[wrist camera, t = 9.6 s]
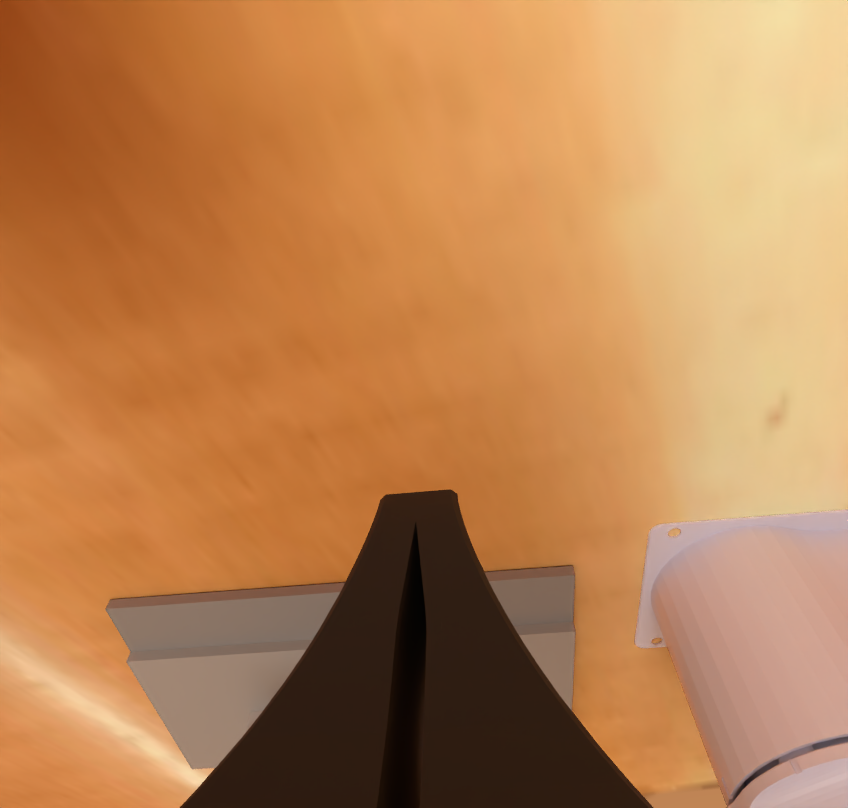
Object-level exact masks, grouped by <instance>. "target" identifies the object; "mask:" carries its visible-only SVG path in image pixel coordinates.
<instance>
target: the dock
mask: <svg viewBox="0 0 848 808" xmlns="http://www.w3.org/2000/svg"><path fill="white" fill-rule="evenodd" d="M485 575H486V577H487V579H488V581H489V583H490V585H491V587H492V589H493V591H494V592H495V594H496V596H497V598H498V600H499V602H500V604H501V605H502V607H503V609H504V611H505V612H506V614H507V616H508V618H509V619H510V621H511V623H512V625H513V626H514V628H515V630H516V631H517V633H518V634H519V636H520V638H521V639H522V641H523V643H524V644H525V646H526V647H527V649H528V650H529V652H530V653H531V655H532V656H533V658H534V659H535V661H536V662H537V664H538V665H539V667H540V668H541V670H542V671H543V673H544V674H545V675H546V677H547V678H548V680H549V681H550V682H551V684H552V685H553V687H554V688H555V690H556V691H557V692H558V694H559V695H560V696H561V698H562V699H563V700H564V702H565V703H566V704H567V705H568V707H569V708H570V709H571V711H572V696H573V674H574V653H575V627H574V623H573V613H574V589H575V573H574V569H573V566H562V567H548V568H535V569H521V570H507V571H494V572H485ZM344 584H345V582H344V583H330V584H317V585H303V586H290V587H276V588H262V589H249V590H235V591H222V592H208V593H194V594H181V595H167V596H153V597H140V598H126V599H113V600H110V601H109V603H108V605H107V607H106V611H107V613H108V614H109V616H110V618H111V619H112V621H113V623H114V625H115V626H116V628H117V630H118V631H119V633H120V635H121V636H122V638H123V640H124V641H125V643H126V645H127V646H128V648H129V650H130V651H131V653H130V655H129V657H128V659H127V663H128V665H129V667H130V668H131V670H132V672H133V673H134V675H135V677H136V678H137V680H138V682H139V683H140V685H141V686H142V688H143V690H144V691H145V693H146V695H147V696H148V698H149V700H150V701H151V703H152V704H153V706H154V708H155V709H156V711H157V713H158V714H159V716H160V718H161V719H162V721H163V722H164V724H165V726H166V727H167V729H168V731H169V732H170V734H171V736H172V737H173V739H174V740H175V742H176V744H177V745H178V747H179V749H180V750H181V752H182V754H183V755H184V757H185V758H186V760H187V762H188V763H189V765H190V767H191V768H192V769H203V768H216V767H217V766H218V764H219V763H220V762H221V761H222V760H223V759H224V758H225V756H226V755H227V754H228V753H229V752H230V751H231V749H232V748H233V747H234V746H235V745H236V744H237V742H238V741H239V740H240V739H241V738H242V737H243V735H244V734H245V733H246V732H247V730H248V729H249V728H250V727H251V726H252V724H253V723H254V722H255V720H256V719H257V718H258V717H259V715H260V714H261V713H262V711H263V710H264V709H265V707H266V706H267V705H268V703H269V702H270V701H271V699H272V698H273V697H274V695H275V694H276V693H277V691H278V690H279V689H280V687H281V686H282V685H283V683H284V682H285V680H286V679H287V678H288V676H289V675H290V673H291V672H292V670H293V669H294V667H295V666H296V664H297V663H298V661H299V660H300V659H301V657H302V656H303V654H304V653H305V651H306V649H307V648H308V646H309V645H310V643H311V642H312V640H313V638H314V637H315V635H316V634H317V632H318V630H319V629H320V627H321V625H322V624H323V622H324V620H325V618H326V617H327V615H328V613H329V611H330V609H331V608H332V606H333V604H334V602H335V601H336V599H337V597H338V595H339V594H340V592H341V590H342V588H343V586H344Z"/></svg>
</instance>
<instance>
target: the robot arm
mask: <svg viewBox="0 0 848 808" xmlns="http://www.w3.org/2000/svg"><path fill="white" fill-rule="evenodd" d="M674 528H677V529H680V533H679V534H678V535H677V536H669V535H668V532H669V531H670V530H671V529H674ZM655 638H661V639H662V641H661V642H659V643H656V644H654V643H651V641H652V640H653V639H655ZM634 642H635V645H636V646H637V647H640V648H656V647H667V648H668V651H669V653H670V656H671V659H672V661H673V664H674V667H675V669H676V672H677V675H678V677H679V680H680V683H681V685H682V688H683V691H684V693H685V696H686V699H687V701H688V704H689V706H690V709H691V712H692V714H693V717H694V720H695V722H696V725H697V728H698V730H699V733H700V736H701V738H702V741H703V744H704V746H705V749H706V752H707V754H708V757H709V760H710V762H711V765H712V768H713V770H714V773H715V776H716V778H717V781H718V784H719V786H720V789H721V792H722V794H723V797H724V800H725V802H726V805H727V808H848V509H847V510H834V511H821V512H808V513H795V514H782V515H769V516H756V517H743V518H730V519H717V520H704V521H690V522H677V523H664V524H658V525H656V526H654V527H653V528H652V529H651V530H650V531H649V534H648V541H647V549H646V556H645V564H644V572H643V579H642V587H641V595H640V602H639V610H638V618H637V625H636V633H635V640H634ZM180 808H653V807H652V806H651V805H650V804H649V802H648V801H647V800H646V799H645V798H644V797H643V796H642V795H641V793H640V792H639V791H638V790H637V789H636V788H635V787H634V786H633V785H632V783H631V782H630V781H629V780H628V779H627V778H626V777H625V776H624V774H623V773H622V772H621V771H620V770H619V769H618V767H617V766H616V765H615V764H614V763H613V761H612V760H611V759H610V758H609V757H608V756H607V754H606V753H605V752H604V751H603V750H602V749H601V747H600V746H599V745H598V744H597V743H596V741H595V740H594V739H593V737H592V736H591V735H590V734H589V732H588V731H587V730H586V728H585V727H584V726H583V725H582V723H581V722H580V721H579V719H578V718H577V717H576V716H575V714H574V713H573V712H572V711H571V709H570V708H569V707H568V705H567V704H566V703H565V702H564V700H563V699H562V698H561V696H560V695H559V694H558V692H557V691H556V690H555V688H554V687H553V685H552V684H551V682H550V681H549V680H548V678H547V677H546V675H545V674H544V673H543V671H542V670H541V668H540V667H539V665H538V664H537V662H536V661H535V659H534V658H533V656H532V655H531V653H530V652H529V650H528V649H527V647H526V646H525V644H524V643H523V641H522V639H521V638H520V636H519V634H518V633H517V631H516V630H515V628H514V626H513V625H512V623H511V621H510V619H509V618H508V616H507V614H506V612H505V611H504V609H503V607H502V605H501V604H500V602H499V600H498V598H497V596H496V594H495V592H494V591H493V589H492V587H491V585H490V583H489V581H488V579H487V577H486V575H485V572H484V570H483V568H482V566H481V564H480V562H479V560H478V558H477V556H476V553H475V551H474V549H473V546H472V544H471V541H470V539H469V536H468V533H467V531H466V528H465V525H464V522H463V519H462V515H461V512H460V507H459V503H458V496H457V493H455V492H454V491H452V490H439V491H426V492H414V493H402V494H389V495H385V496H384V497H383V498H382V499H381V500H380V504H379V507H378V510H377V513H376V515H375V518H374V521H373V523H372V526H371V528H370V531H369V533H368V536H367V538H366V540H365V543H364V545H363V547H362V549H361V552H360V554H359V556H358V558H357V560H356V562H355V564H354V566H353V568H352V570H351V572H350V574H349V576H348V578H347V580H346V582H345V584H344V586H343V588H342V590H341V592H340V594H339V595H338V597H337V599H336V601H335V602H334V604H333V606H332V608H331V609H330V611H329V613H328V615H327V617H326V618H325V620H324V622H323V624H322V625H321V627H320V629H319V630H318V632H317V634H316V635H315V637H314V638H313V640H312V642H311V643H310V645H309V646H308V648H307V649H306V651H305V653H304V654H303V656H302V657H301V659H300V660H299V661H298V663H297V664H296V666H295V667H294V669H293V670H292V672H291V673H290V675H289V676H288V678H287V679H286V680H285V682H284V683H283V685H282V686H281V687H280V689H279V690H278V691H277V693H276V694H275V695H274V697H273V698H272V699H271V701H270V702H269V703H268V705H267V706H266V707H265V709H264V710H263V711H262V713H261V714H260V715H259V717H258V718H257V719H256V720H255V722H254V723H253V724H252V726H251V727H250V728H249V729H248V730H247V732H246V733H245V734H244V735H243V737H242V738H241V739H240V740H239V741H238V742H237V744H236V745H235V746H234V747H233V748H232V749H231V751H230V752H229V753H228V754H227V755H226V756H225V758H224V759H223V760H222V761H221V762H220V763H219V764H218V766H217V767H216V768H215V769H214V770H213V771H212V773H211V774H210V775H209V776H208V777H207V778H206V780H205V781H204V782H203V783H202V784H201V785H200V786H199V788H198V789H197V790H196V791H195V792H194V793H193V794H192V795H191V796H190V797H189V798H188V799H187V801H186V802H185V803H184V804H183V805H182V806H181V807H180Z"/></svg>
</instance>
